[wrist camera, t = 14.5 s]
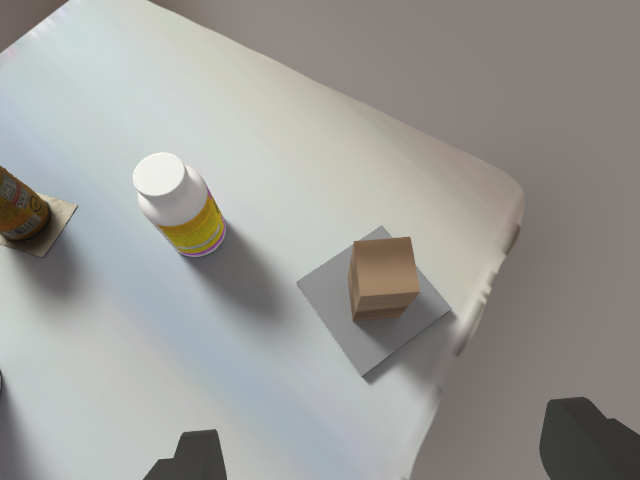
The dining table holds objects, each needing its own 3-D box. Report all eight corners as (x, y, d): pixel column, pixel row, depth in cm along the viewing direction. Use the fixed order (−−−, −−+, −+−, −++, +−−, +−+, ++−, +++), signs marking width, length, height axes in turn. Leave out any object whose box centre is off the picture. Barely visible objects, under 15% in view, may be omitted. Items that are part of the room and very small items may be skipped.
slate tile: (361, 376, 41) (362, 375, 40) (296, 284, 45) (296, 281, 44) (448, 310, 44) (451, 308, 43) (380, 228, 48) (382, 225, 47)
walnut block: (399, 317, 43) (420, 291, 34) (352, 321, 43) (360, 296, 33) (392, 273, 45) (410, 236, 35) (347, 276, 45) (353, 241, 35)
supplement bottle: (238, 231, 48) (211, 171, 36) (196, 270, 46) (153, 221, 34) (201, 198, 50) (164, 131, 38) (159, 234, 48) (106, 176, 36)
